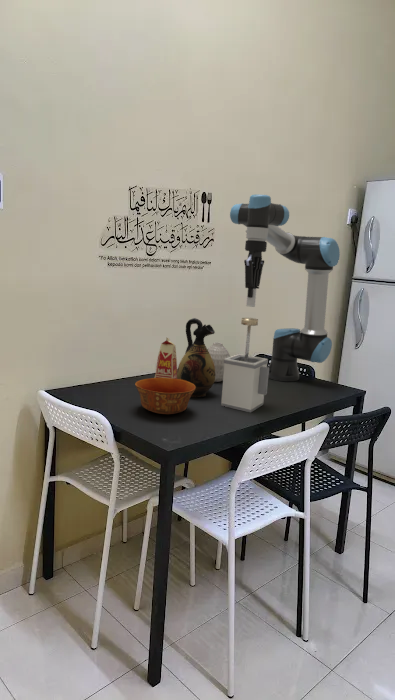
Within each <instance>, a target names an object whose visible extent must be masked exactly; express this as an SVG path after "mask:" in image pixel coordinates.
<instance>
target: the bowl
mask: <svg viewBox="0 0 395 700" xmlns="http://www.w3.org/2000/svg"><path fill="white" fill-rule="evenodd" d="M134 387H136V389H137V392H138V394H139V398H140V404H141V406H142V408H143V409H146V410H147V411H150V412H152V413H156V414H160V415H174V414H179V413H182V412H183V411H185V410H186V409H187V408H188V407H189V406H188V405H189V402H190V399H191V398H192V397H191V395H192V393H193V392H194V391H195V389H196V386H195V385H194V384H193V383H191V382H188V381H185V380H181V379H173V378H154V377H150V378H144V379H140V380H137V381H136V382H135V385H134Z"/></svg>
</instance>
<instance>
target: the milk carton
mask: <svg viewBox="0 0 395 700" xmlns="http://www.w3.org/2000/svg"><path fill="white" fill-rule="evenodd" d="M176 348H177V347H176V345H175V344H174V343H173V342H172V341H171V339H170V338H169V337H166V340H165V341H163V342H161V343H160V348H159V352H158V355H157V359H156V369H155V372H154V373H155V374H154V377H153V378H173V379H177V369H178V360H177V349H176Z"/></svg>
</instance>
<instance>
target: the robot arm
mask: <svg viewBox="0 0 395 700" xmlns="http://www.w3.org/2000/svg"><path fill="white" fill-rule="evenodd" d="M248 201H249V202H248V203H236V204H234V205H232V207H231V208H230V212H229V218H230V220H231V222H232V223H233V224H235V225H243V226H244V227H246V230H245V233H246V234H245V236H246V237H245V238H246V240H245V246H244V249H245V251H246V252H248V255H247V259H244V276H245V277H244V282H245V283H244V286H245V289H247V295H246V305H245V306H246V307H251V308H255V307H256V299H257V297H256V296H257V289H260V283H261V280H262V273H263V268H264V265H265V260H264V259H263V255H262V254H263V253H266V252H267V246H268V244H270V245H271V246H272V247H274V248H275V251H276V252H277V253H278V254H280V255H281V256H282V257H284V258H286V259H288V260H289V261H291V262H293V263H297V264H302V265H304V270H305V271H306V272H307V283H306V284H307V286H306V287H307V288H306V299H305V312H304V313H305V314H304V327H303V328H302V329H299V328H279V329H275V331H274V333H273V337H272V339H273V341H272V352H271V361H270V363H269V365H268V366H267V368H269V376H268V379H271V380H274V381H280V382H297V381H299V380H300V371H299V367H298V366H299V365H298V359H299V360H303V361H308V362H311V363H317V364H320V363H323V362H325V361H326V360H327V359H328V357H329V355H330V354H331V351H332V348H333V347H332V346H333V342H332V339H331V338H330V337H328V332H327V330H326V329H325V326H326V311H327V299H328V297H327V296H328V288H329V277H330V276H329V275H330V273H331V272H333V271H334V267H336V266H337V265H338V264H339V260H340V255H341V254H340V253H341V251H340V246H339V244H338V242H337V241H336V239H334V238H333V237H332V238H331V237H325V236H304V235H303V236H302V235H295V234H292V233H290V232H286V231H285V230H284V229H282V228H281V227H279V226H284V225H286V223H288V221H289V219H290V211H289V208H288V207H286V206H285V205H283V204H281V203H280V204H279V203H273V202H272V198H271V196H270V195H268V194H251V195H250V196H249V200H248Z"/></svg>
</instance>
